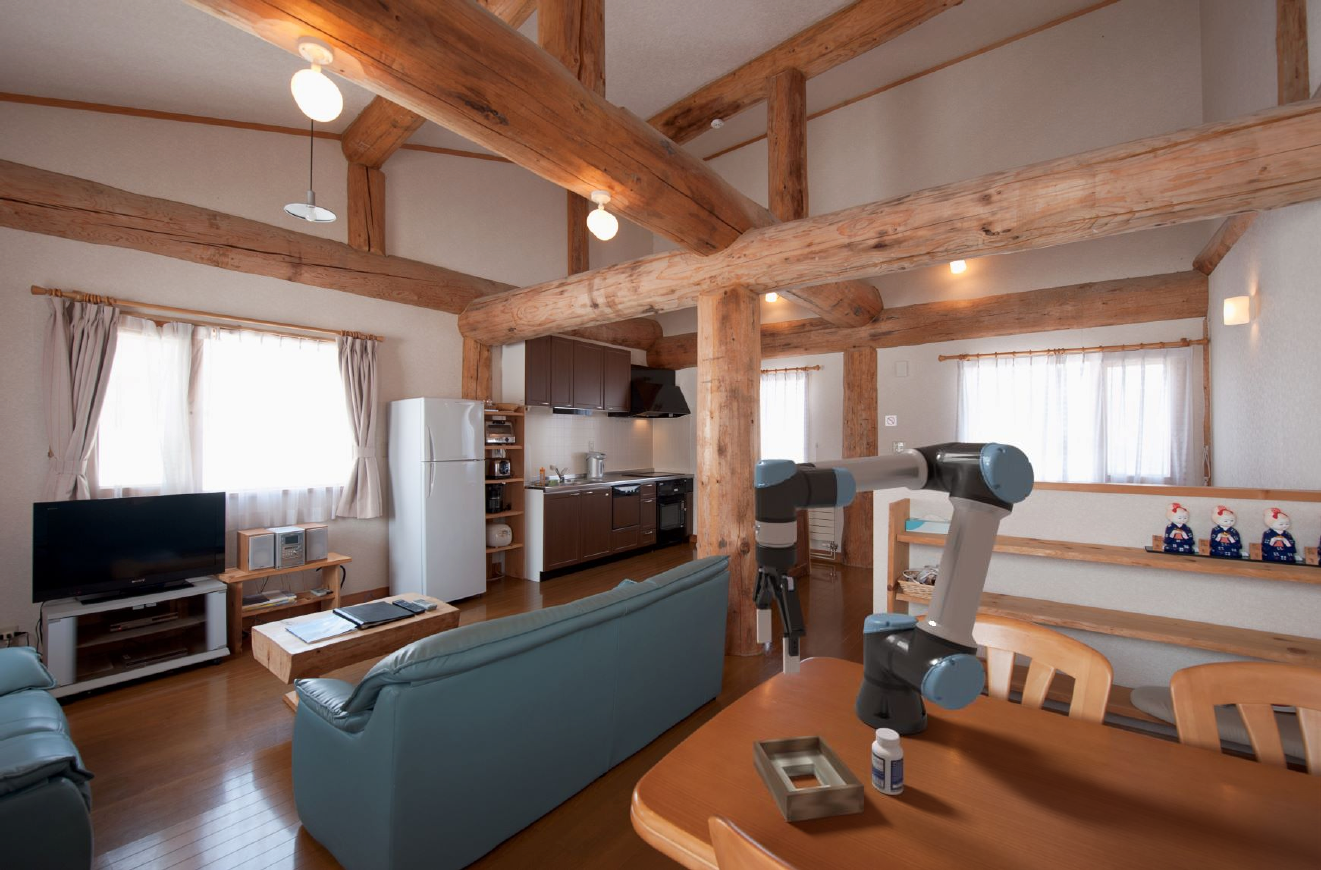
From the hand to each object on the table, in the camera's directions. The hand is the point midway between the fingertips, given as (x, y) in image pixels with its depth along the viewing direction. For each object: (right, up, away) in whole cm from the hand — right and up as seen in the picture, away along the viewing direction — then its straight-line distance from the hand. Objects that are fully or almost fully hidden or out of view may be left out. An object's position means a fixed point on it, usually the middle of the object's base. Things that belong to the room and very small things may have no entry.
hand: (777, 656), depth 102 cm
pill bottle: (+20, -24, -1) cm, 31 cm away
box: (+5, -23, -2) cm, 24 cm away
